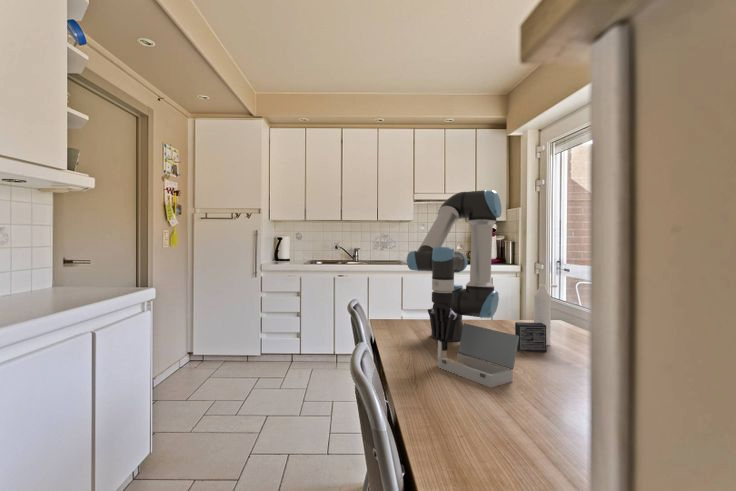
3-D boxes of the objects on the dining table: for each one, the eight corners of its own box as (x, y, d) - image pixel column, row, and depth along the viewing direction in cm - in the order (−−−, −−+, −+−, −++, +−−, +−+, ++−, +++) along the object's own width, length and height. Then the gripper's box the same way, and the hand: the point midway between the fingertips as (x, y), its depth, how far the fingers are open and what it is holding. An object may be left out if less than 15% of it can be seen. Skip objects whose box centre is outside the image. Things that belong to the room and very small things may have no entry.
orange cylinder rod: (441, 366, 138) (437, 361, 137) (446, 360, 139) (442, 354, 138) (463, 375, 130) (458, 369, 129) (468, 367, 131) (463, 362, 130)
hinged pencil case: (437, 367, 135) (437, 357, 135) (459, 362, 141) (459, 352, 141) (490, 388, 117) (490, 376, 117) (512, 381, 123) (512, 369, 123)
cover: (463, 323, 142) (465, 323, 143) (458, 352, 141) (460, 352, 141) (517, 335, 124) (519, 336, 124) (511, 369, 122) (513, 369, 123)
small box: (541, 348, 162) (541, 322, 162) (547, 352, 155) (547, 325, 155) (514, 347, 163) (514, 321, 163) (518, 351, 156) (519, 324, 156)
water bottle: (534, 345, 166) (535, 284, 166) (532, 341, 172) (533, 283, 172) (557, 346, 164) (558, 285, 163) (555, 343, 170) (556, 284, 169)
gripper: (422, 289, 142) (421, 356, 143) (448, 294, 132) (447, 365, 132) (437, 288, 147) (437, 353, 147) (464, 292, 136) (463, 362, 136)
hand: (441, 359), depth 139 cm, fingers closed
